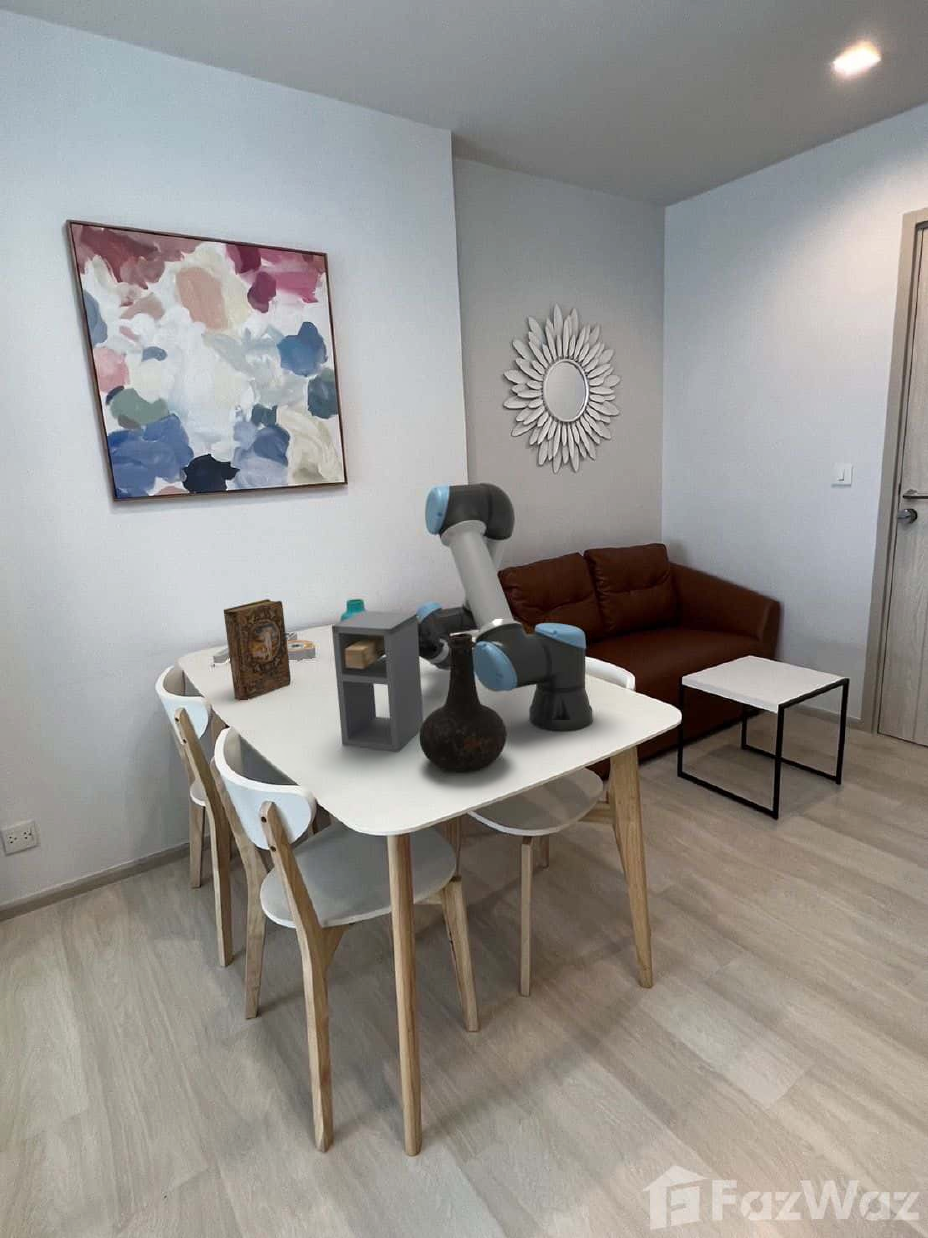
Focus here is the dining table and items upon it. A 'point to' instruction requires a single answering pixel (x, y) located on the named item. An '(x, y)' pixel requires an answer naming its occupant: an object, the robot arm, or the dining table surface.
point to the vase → (353, 608)
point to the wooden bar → (366, 651)
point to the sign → (294, 647)
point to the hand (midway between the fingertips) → (395, 623)
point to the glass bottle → (462, 719)
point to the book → (257, 648)
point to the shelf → (379, 681)
